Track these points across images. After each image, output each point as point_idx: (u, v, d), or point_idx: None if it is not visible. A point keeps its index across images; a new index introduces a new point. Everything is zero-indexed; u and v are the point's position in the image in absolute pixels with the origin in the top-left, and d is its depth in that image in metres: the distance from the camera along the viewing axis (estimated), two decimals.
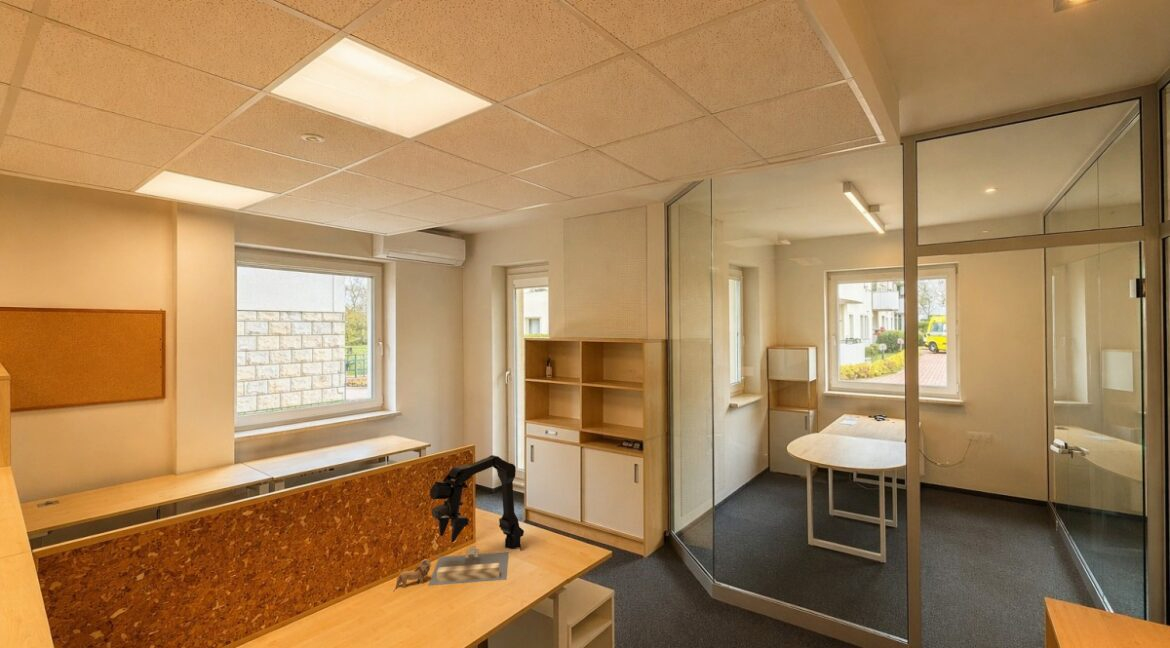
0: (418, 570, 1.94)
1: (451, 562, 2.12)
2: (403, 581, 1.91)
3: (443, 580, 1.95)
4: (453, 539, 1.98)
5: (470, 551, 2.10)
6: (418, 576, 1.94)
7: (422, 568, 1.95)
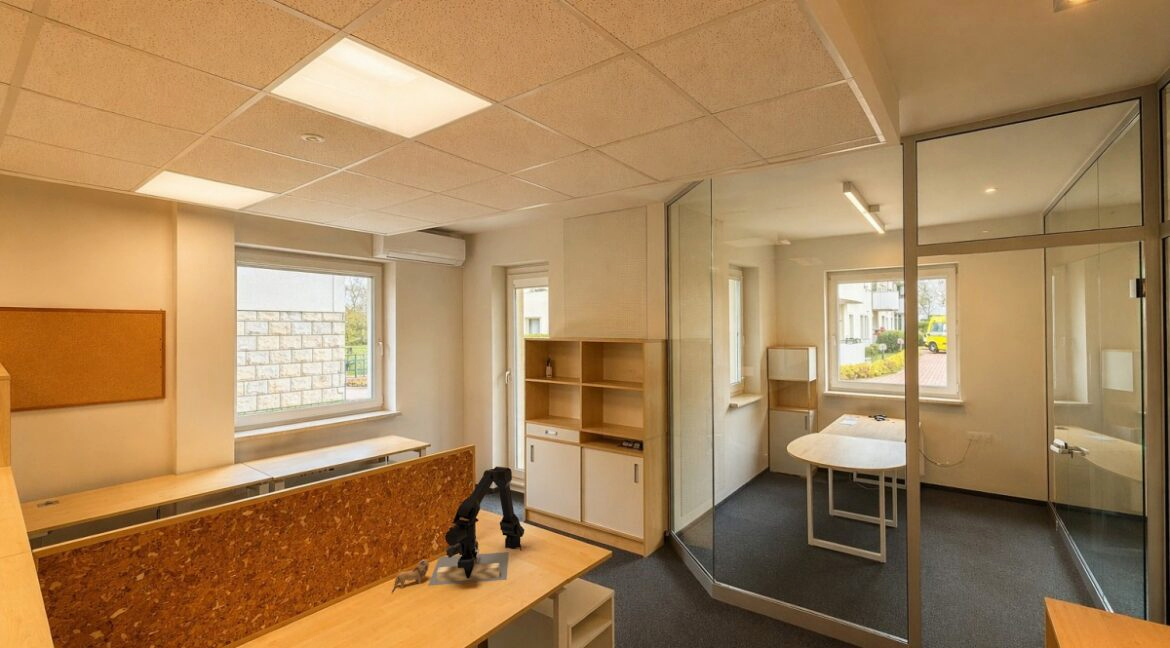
0: (416, 571, 1.94)
1: (451, 562, 2.12)
2: (401, 582, 1.91)
3: (443, 580, 1.95)
4: (467, 576, 1.96)
5: None
6: (416, 576, 1.94)
7: (420, 568, 1.95)
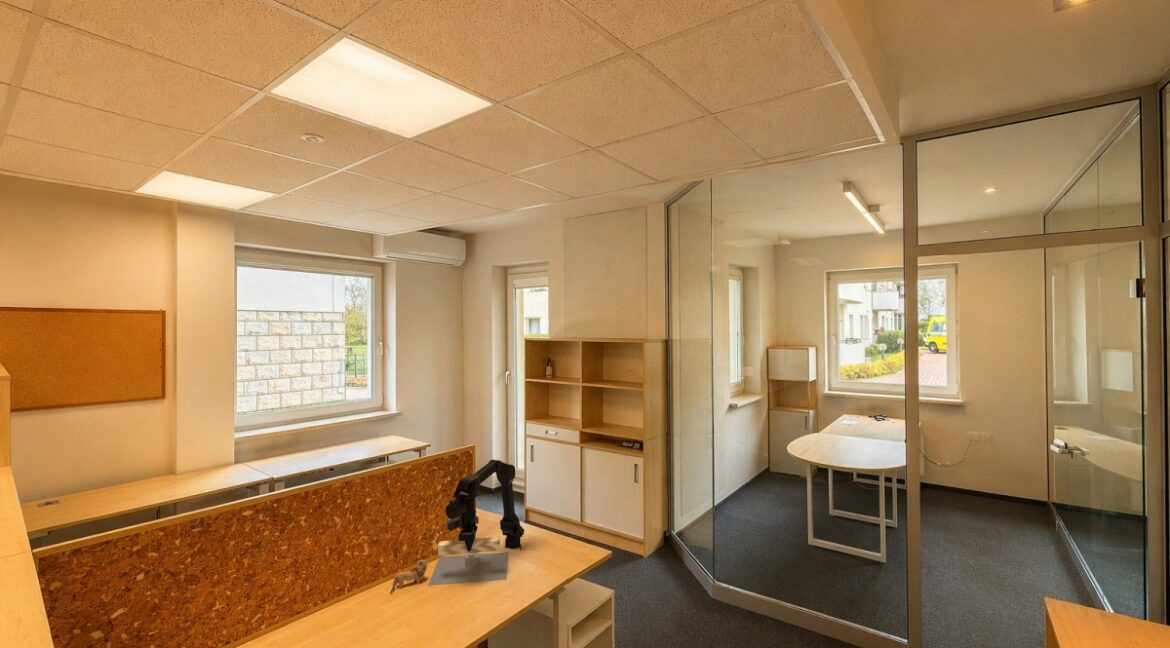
0: (415, 571, 1.94)
1: (451, 562, 2.12)
2: (400, 582, 1.91)
3: (444, 553, 1.98)
4: (468, 549, 1.98)
5: None
6: (415, 576, 1.93)
7: (418, 569, 1.94)
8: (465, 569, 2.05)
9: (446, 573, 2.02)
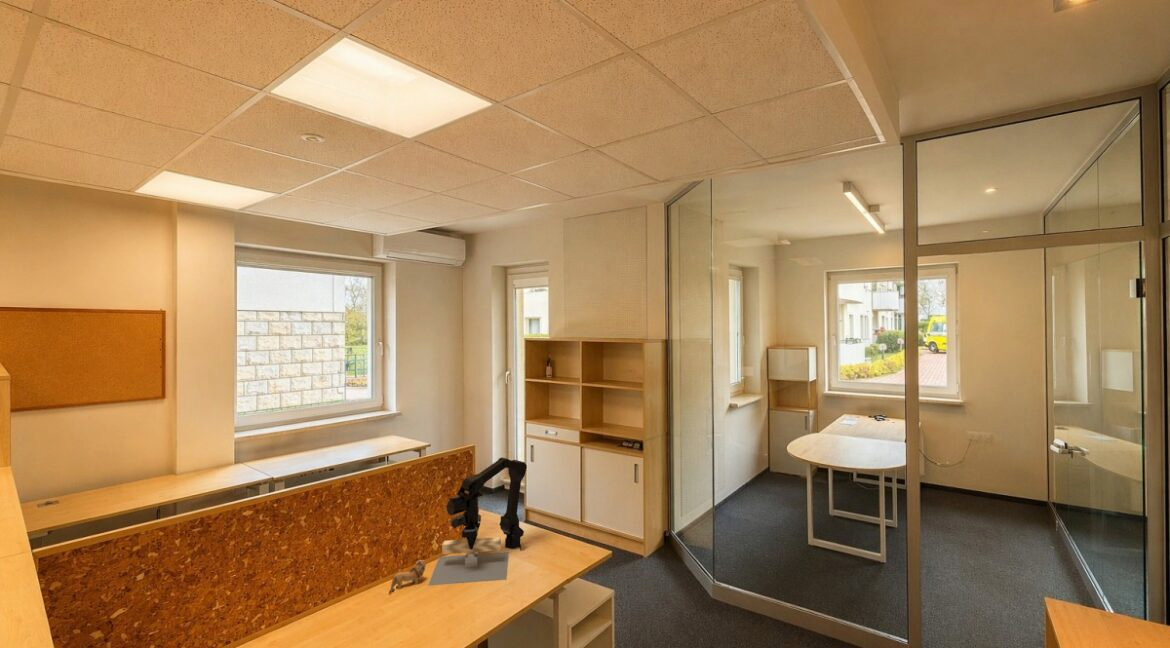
0: (413, 571, 1.94)
1: (451, 562, 2.12)
2: (398, 582, 1.90)
3: (448, 552, 2.08)
4: (470, 547, 2.08)
5: None
6: (413, 577, 1.93)
7: (417, 569, 1.94)
8: (465, 569, 2.05)
9: (446, 573, 2.02)
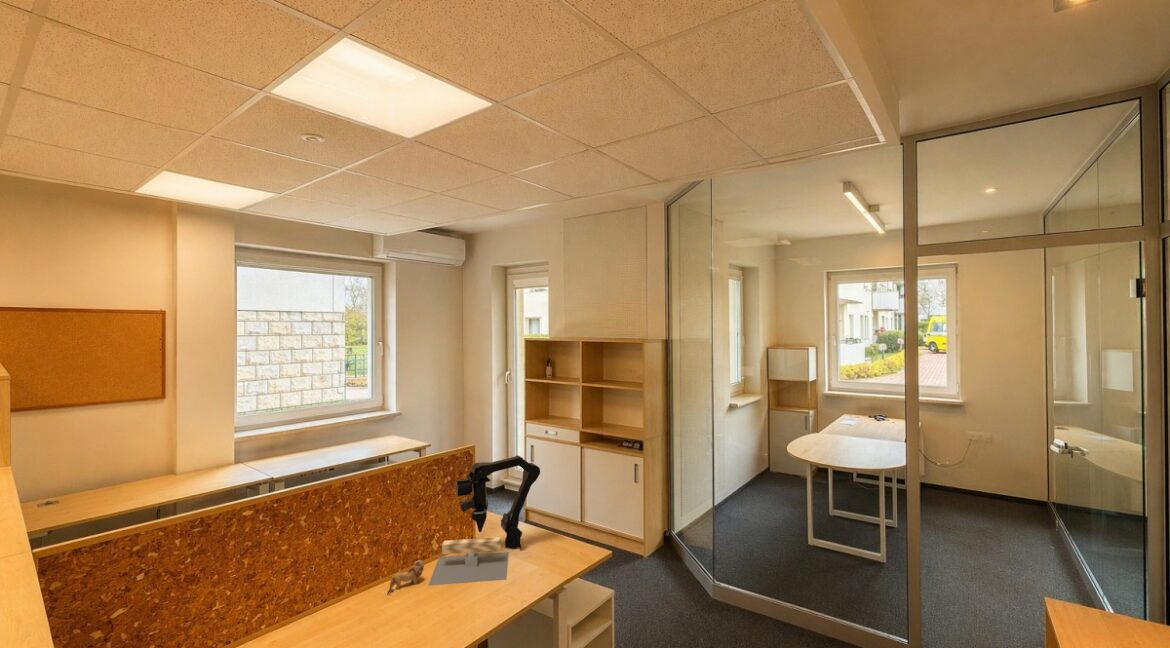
0: (412, 572, 1.93)
1: (451, 562, 2.12)
2: (397, 583, 1.90)
3: (448, 552, 2.08)
4: (479, 529, 2.16)
5: None
6: (412, 577, 1.93)
7: (415, 569, 1.94)
8: (465, 569, 2.05)
9: (446, 573, 2.02)
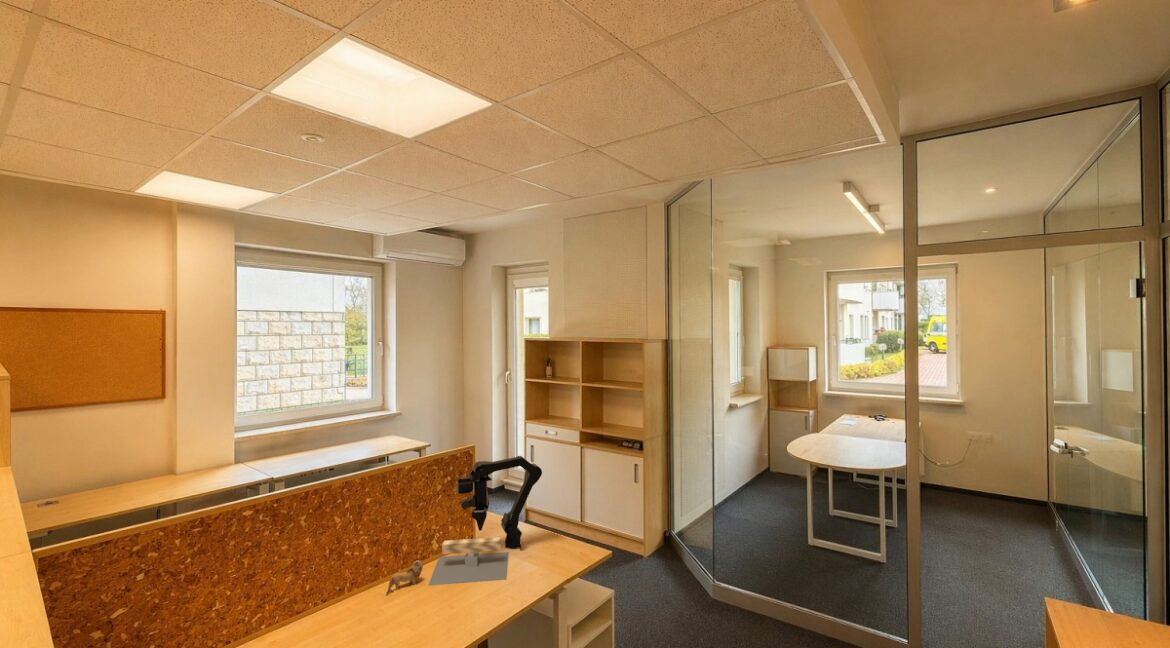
0: (411, 572, 1.93)
1: (451, 562, 2.12)
2: (396, 583, 1.90)
3: (448, 552, 2.08)
4: (479, 528, 2.17)
5: None
6: (411, 577, 1.93)
7: (414, 569, 1.94)
8: (465, 569, 2.05)
9: (446, 573, 2.02)
